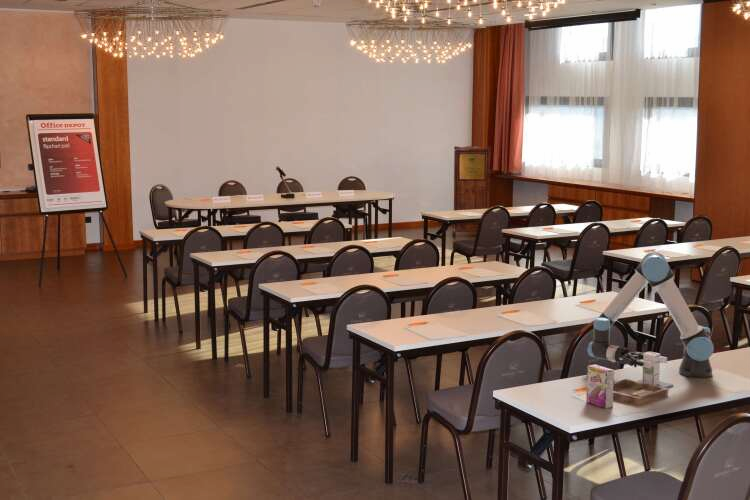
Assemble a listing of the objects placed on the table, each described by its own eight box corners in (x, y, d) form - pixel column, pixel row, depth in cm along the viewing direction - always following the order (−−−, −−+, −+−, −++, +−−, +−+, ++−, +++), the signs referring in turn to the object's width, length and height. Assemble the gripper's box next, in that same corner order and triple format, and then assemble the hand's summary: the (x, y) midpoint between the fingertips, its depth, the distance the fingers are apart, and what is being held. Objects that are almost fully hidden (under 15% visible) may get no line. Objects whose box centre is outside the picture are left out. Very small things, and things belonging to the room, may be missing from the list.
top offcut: (631, 396, 396) (631, 394, 396) (642, 392, 403) (642, 389, 403) (642, 398, 393) (642, 396, 392) (652, 394, 400) (653, 391, 400)
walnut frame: (595, 395, 402) (596, 388, 402) (625, 386, 418) (625, 378, 417) (638, 406, 387) (639, 398, 386) (667, 396, 402) (668, 388, 401)
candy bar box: (585, 402, 392) (586, 365, 390) (593, 400, 395) (595, 363, 393) (605, 409, 383) (606, 371, 381) (613, 407, 385) (614, 369, 383)
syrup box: (659, 383, 418) (660, 352, 416) (653, 386, 414) (654, 355, 412) (648, 381, 422) (649, 350, 420) (641, 383, 418) (643, 353, 416)
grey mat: (629, 385, 419) (629, 383, 419) (646, 380, 428) (646, 378, 428) (656, 392, 409) (656, 389, 408) (673, 386, 418) (673, 384, 418)
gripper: (632, 358, 439) (672, 366, 423) (602, 366, 422) (643, 375, 407) (633, 342, 438) (673, 350, 422) (603, 350, 422) (643, 359, 406)
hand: (658, 362), depth 414 cm, fingers open, 13 cm apart
